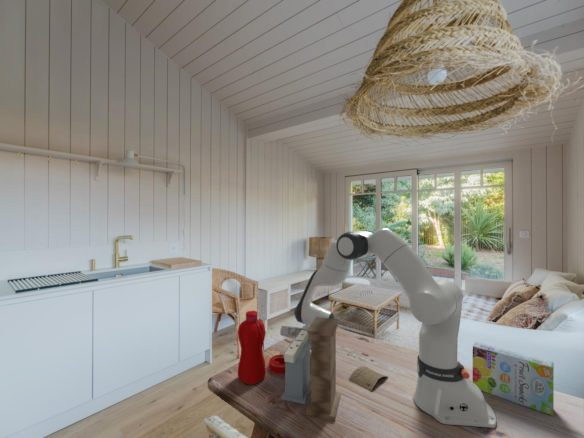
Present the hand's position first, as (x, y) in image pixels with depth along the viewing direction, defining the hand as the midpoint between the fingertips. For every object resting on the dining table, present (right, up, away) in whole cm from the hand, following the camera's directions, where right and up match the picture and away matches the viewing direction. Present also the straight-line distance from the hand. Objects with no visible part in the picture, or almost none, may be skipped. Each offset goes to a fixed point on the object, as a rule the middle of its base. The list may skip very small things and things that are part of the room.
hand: (302, 330), depth 103 cm
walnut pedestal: (+7, -19, -12) cm, 24 cm away
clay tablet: (+25, -20, +3) cm, 32 cm away
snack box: (+70, -19, -8) cm, 73 cm away
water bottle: (-18, -19, +2) cm, 26 cm away
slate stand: (-2, -19, -5) cm, 20 cm away
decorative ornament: (-8, -19, +11) cm, 24 cm away
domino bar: (-1, -4, -4) cm, 6 cm away
